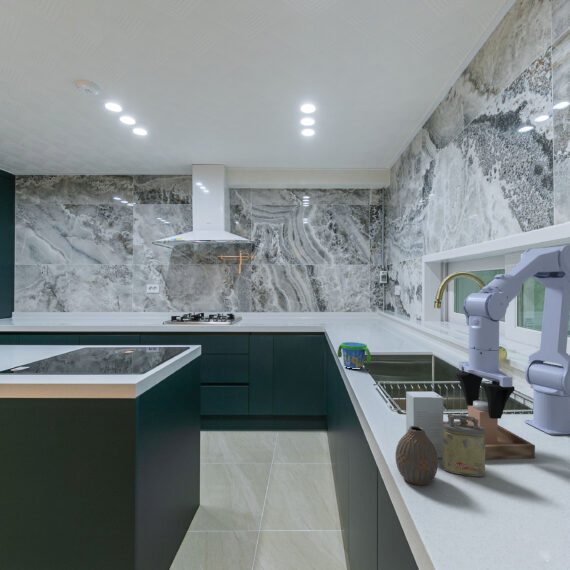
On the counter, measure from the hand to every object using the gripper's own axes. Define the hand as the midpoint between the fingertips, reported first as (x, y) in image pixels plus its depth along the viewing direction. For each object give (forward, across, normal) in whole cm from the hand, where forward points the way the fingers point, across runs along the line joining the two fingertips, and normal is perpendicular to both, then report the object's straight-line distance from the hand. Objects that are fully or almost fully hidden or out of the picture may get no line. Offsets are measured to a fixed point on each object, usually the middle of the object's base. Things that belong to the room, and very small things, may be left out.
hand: (483, 411), depth 75 cm
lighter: (+7, +10, -11) cm, 17 cm away
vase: (+7, +12, -21) cm, 26 cm away
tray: (+7, 0, 0) cm, 7 cm away
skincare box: (+7, +4, -15) cm, 17 cm away
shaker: (+6, 0, 0) cm, 6 cm away
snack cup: (+7, -72, -7) cm, 73 cm away
